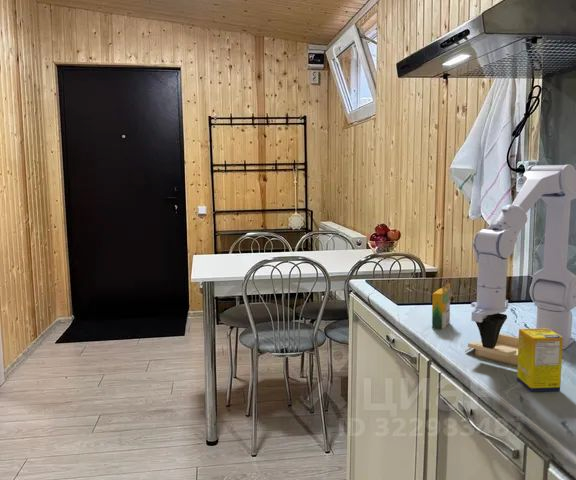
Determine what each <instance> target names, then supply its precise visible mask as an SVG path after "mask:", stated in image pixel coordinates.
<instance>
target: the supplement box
mask: <svg viewBox="0 0 576 480" xmlns="http://www.w3.org/2000/svg"><path fill="white" fill-rule="evenodd" d="M518 338H519V344H518V366H516V367H517V368H516V369H517V371H516V372H517V373H516V380H517V382H519V383H520V384H521V385H523V387H525V388H526V389H527V390H528V391H529V392H533V393H534V392H557V391H558V392H559V391H561V381H562V379H561V378H562V363H563V361H562V360H563V349H562V346H563V337H562V336H560V335H558V334H557V333H555V332H553V331H551V330H550V329H548V328H540V329H536V328H519V329H518Z"/></svg>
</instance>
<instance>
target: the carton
mask: <svg viewBox="0 0 576 480" xmlns="http://www.w3.org/2000/svg"><path fill="white" fill-rule="evenodd" d="M480 342H481V343H482V341H480ZM518 344H519V337H517V336H513V335H512V336H511V335H508V334H507V335H506V334H504V333H503V334H502V333H499V336H498V340H497V343H496V346H499V347H504V348H508V349H512V350H516V354H514V355H511V356H503V355H499V354H495V353H491V352H486V351H482V350H478V349H475V350H474V352H475V353H474V356H475V357H478V358H482V359H486V360H490V361H495V362H498V363H502V364H506V365H510V366H514V367H518ZM471 349H473V348H470V347H468V348H467V349H466V350H464V351H465V353H466V352H469V351H470V350H471Z"/></svg>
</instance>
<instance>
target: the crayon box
mask: <svg viewBox="0 0 576 480" xmlns="http://www.w3.org/2000/svg"><path fill="white" fill-rule="evenodd" d="M431 301H432V302H431V303H432V304H431V305H432V307H431V309H432V310H431V311H432V313H431V317H432V318H431V323H432V325H431V328H432V329H437V330H443V329H444V328H445V327H447V325H449V324H450V323H451V320H450V317H451V314H450V313H451V282H450V283H447V284H446V285H445V286H443V287H441V288H439V289H437V290H436V291H435V292H433V293H432V300H431Z"/></svg>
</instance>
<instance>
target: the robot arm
mask: <svg viewBox="0 0 576 480" xmlns="http://www.w3.org/2000/svg"><path fill="white" fill-rule="evenodd" d="M540 199H541V200H542V202H544V203H545V204H546V210H545V211H546V212H545V226H544V227H545V231H544V243H543V244H544V246H543V261H542V263H543V267H542V268H541V269H539V270H537V271H536V272H534V274H533V275H532V281H531V284H530V287H529V297H530V299H531V301H532V302H533V303H534V306H535V307H537V308H536V321H535V323H536V324H535V329H540V328H548V329H550V330H551V331H553V332H555V333H557V334H558V335H560V336H562V337H563V346H562V350H565V349H567V348H568V347H569V346H570V345H571V344H572V343H574V341H576V338H575V337H572V329H573V312H572V310H574V309H575V308H576V275H575V273H573V272H572V271H570V270H569V269H568V268H567V266H568V253H569V252H568V251H569V250H568V249H569V235H570V220H571V219H570V217H571V203H572V202H571V201H573V200H575V199H576V168H575V167H574V165H573V164H570V163H569V164H568V163H567V164H554V165H553V164H549V165H545V164H544V165H535V164H531V165H529V166H528V167H526V169H525V171H524V173H523V175H522V186H521V188H520V190H519V191H518V193H517V195H516V197H514V199H513V201H512V203H511V204H507V205H504V206H503V207H502V208H501V209H500V211H498V213H497V215H496V216H495V217H494V219H493V220H492V221H491V222H490V224H489V225H488V227H487V228H484V229H483V228H482V229H481V230H480V231H478V232H477V233H476V235H475V236H474V239H473V242H472V249H473V252H474V254H475V261H476V263H477V283H476V285H477V286H476V301H473V302H471V303H470V304H471V305H470V306H471V307H473V309H474V310H473V311H471V319H470V321H471V322H475V324H476V326H477V328H478V331H479V335H480V340H481V341H482V345H483V347H485V348H489V349H493V348H495V346H496V343H497V340H498V336H499V334H501V333H500V332H501V329H502V327H503V326H504V324H505V322H506V320H507V319H508V315H507V314H506V313H505V312H506V311H507V309H509V299H507V298H506V296H507V276H508V258H510V256H511V255H512V254H513V252H514V249H515V246H516V245H515V244H516V242H517V239H518V238H517V236H518V234H519V233H520V232H521V230H522V229H523V228H524V226H525V225H526V223H527V221H528V215H527V213H528V212H529V211H530V210H531V208H532V207H533V206H535V204H536V203H537V202H538V200H540ZM504 313H505V314H504ZM481 341H480V342H481Z"/></svg>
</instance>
